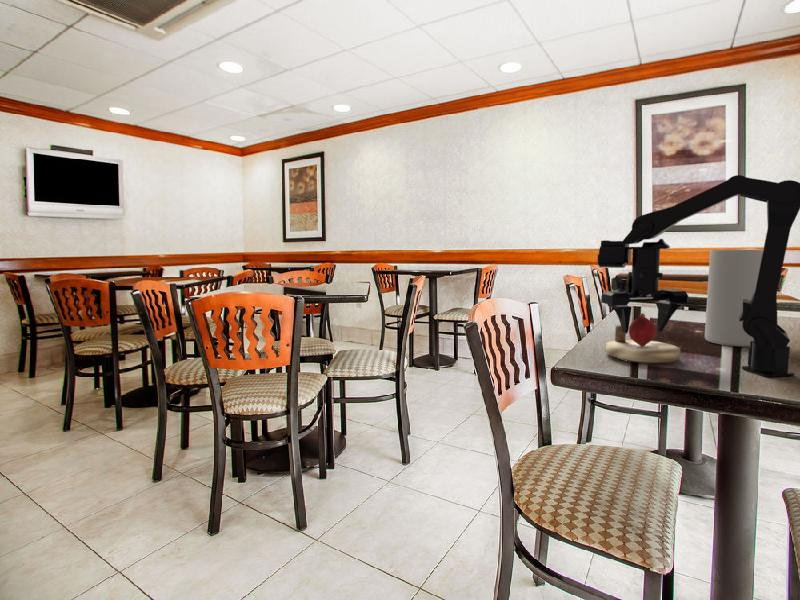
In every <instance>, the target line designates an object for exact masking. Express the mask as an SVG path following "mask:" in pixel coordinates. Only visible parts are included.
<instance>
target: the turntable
mask: <svg viewBox="0 0 800 600" xmlns="http://www.w3.org/2000/svg"><path fill="white" fill-rule="evenodd" d="M614 330H615V332H614V336H615V337H614V340H610V341H608V342H606V343H605V353H606V354H607V355H609V356H611V357H614V358H616V357H617V358H616V359H618V358H621V359H625V360H631V361H639V362H667V363H670V362H675V361H678V360H680V358H681V348H680V347H678V346H676V345H673V344H671V343H667V342H660V341H656V340H651V341H650V342H649V343H648V344H646V345H645V346H640V345H639V344H637V343H636V342H634V341H633V340H632V339H627V337H626V334H625V333H624V332H623V330H622V327H621V324H620V325H619V324H615V329H614ZM621 359H620V360H621Z"/></svg>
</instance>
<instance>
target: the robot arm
mask: <svg viewBox="0 0 800 600" xmlns="http://www.w3.org/2000/svg"><path fill="white" fill-rule="evenodd" d="M738 196H739V197H743V198H747V199H751V200H754V201H758V202H763V203H766V221H767V224H766V225H767V230H766V233H765V239H764V242H763V243H764V244H763V249H762V250H763V253H762V258H761V263H760V268H759V273H758V278H757V283H756V288H755V292H754V294H753V296H752V298H751V300H750V301H749V300H746V299H743V311H742V313H741V314H740V316H739V321H743V330H744V331H745V332H746V333H747V334H748V335H749V336H751V337H753V339H754V341H750V347H748V355H747V365H743V366H741V369H742V370H745V371H748V372H752V373H755V374H757V375H760V376H762V377H763V376H764V377H771V378H772V377H785V376H786V377H787V376H789V377H790V376H795V375H796V373H795V372H793V371H789V363H790V362H789V361H790V352H791V351H790V349H791V346H789V343H790V341H791V340H790V337H789V335H788V333H787V331H786V330H784V328H782V327H781V326H780V325H779V324H778V302H777V299H778V296H777V295H778V291H779V285H780V280H781V276H782V272H783V271H782V270H783V265H784V261H785V257H786V254H787V253H786V251H787V247H788V242H789V238H790V233H791V229H792V226H793V224H794V222H795V220H796V218H797V216H798V215H799V211H800V182H799V181H796V180H792V179H791V180H790V179H788V180H782V181H779V182H776V181H775V182H774V181H770V180H763V179H759V178H758V179H757V178H751V177H746V175H740V174H739V175H738V174H737V175H733V176H731V177H730V178H728V179H727V180H725V181H723V182H721V183H719V184H717V185H714V186H712V187H709V188H708V189H706V190H704V191H701V192H699V193H698V194H695V195H694V196H691V197H688V198H687V199H685V200H683V201H681V202H678V203H677V204H675V205H673V206H670V207H666V208H662V209H659V210H658V209H657V210H655V211H651V212H649V213H645V214H642V215H639V216H637V217H636V218H635V219H634V220H633V222H632V225H631V230H630V231H629V233H628V234H627V235H626V236H625V237H624V238H623V240H607V239H606V240H601V241H600V246H599V250H598V253H597V264H598V268H604V269H605V268H609V269H610V268H611V269H615V268H616V269H618V268H619V269H624V268H626V265H627V264H631V271H628V274H627V278H625V279H623V278H622V277H621V276H617V277H614V276H613V278H611V283H610V287H611V290H609V291H604V292H603V293H602V294H601V302H600V303H602V304H606V305H607V306H608V307H610V308H612V309H613V310H614V311H615V313H616V315H617V317H618V318H617V319H618V320H619V323H620V325H621V327H622V330H623V332H624V333H625V334H629V327H630V324H631V323H630V322H631V315H632V306H630V305H628V304H629V303H630V302H651V301H652V302H653V301H655V305H656V307H657V319H656V320H657V321H656V324H657V325H656V326H657V330H656V331H657V332H658V333H662V332H663V331H664V329H665V327H666V326H667V325H668V322H669V320H671V318H672V316H673V315H674V314H675V312H676V311H677V310H678V308H681V307H682V306H683V304H688V303H689V294H688V292H687V291H686V290H681V289H675V288H672V289H671V288H670V289H669V288H668V289H667V288H666V289H659V280H660V278H663V275H664V274H663V272H660V258H661V250H667V249H670V247H671V246H670V245H669V244H668V243H666V242H665V240H664V238H659V239H658V241H645V240H652V239H656V238H658V237H659V236H660V235H662V234H664V233H665V232H666V231H668V230H670V229H671V228H673V227H674V226H675V225H677V224H678V223H680V222H682V221H683V220H686V219H688V218H690V217H693V216H695V215H697V214H699V213H701V212H703V211H705V210H709V209H710V208H712V207H714V206H717V205H719V204H721V203H723V202H725V201H726V202H727V200H730V199H732V198H734V197H738ZM642 241H644V242H643V243H642V245H641V246H630V245H634V244H635V245H636V244H640V243H641V242H642ZM631 260H632V261H631Z"/></svg>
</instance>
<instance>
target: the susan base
mask: <svg viewBox="0 0 800 600" xmlns="http://www.w3.org/2000/svg"><path fill="white" fill-rule="evenodd" d="M619 360H621V358H620V359H619ZM624 360H625V359H623V360H622V361H624ZM628 361H631V360H627V361H626V362H628ZM634 362H636V363H635V364H642V363H644V364H645V365H646V364H647V365H658V364H659V365H660V364H666V363H668V362H639V361H631V362H630V363H634ZM644 364H643V365H644Z"/></svg>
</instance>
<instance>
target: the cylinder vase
mask: <svg viewBox="0 0 800 600" xmlns="http://www.w3.org/2000/svg"><path fill="white" fill-rule="evenodd" d="M762 253H763V249H718V250H717V249H716V250H715V249H714V250H710V251H709V262H708V263H709V265H708V267H709V268H708V280H707V297H706V309H705V310H706V312H705V324H704V325H705V328H704V339H705V340H706V341H707V342H709V343H713V344H716V345H721V346H727V347H728V346H729V347H743V348H744V347H745V348H746V347H748V348H749V347H750V341H754V339H753V337H751V336H749V335H748V334H747V333H746V332H745V331H744V330H743V321H739V316H740V314H741V313H742V311H743V299H746V300H749V301H750V300H751V298H752V296H753V294H754V292H755V288H756V283H757V278H758V273H759V268H760V263H761V258H762Z"/></svg>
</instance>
